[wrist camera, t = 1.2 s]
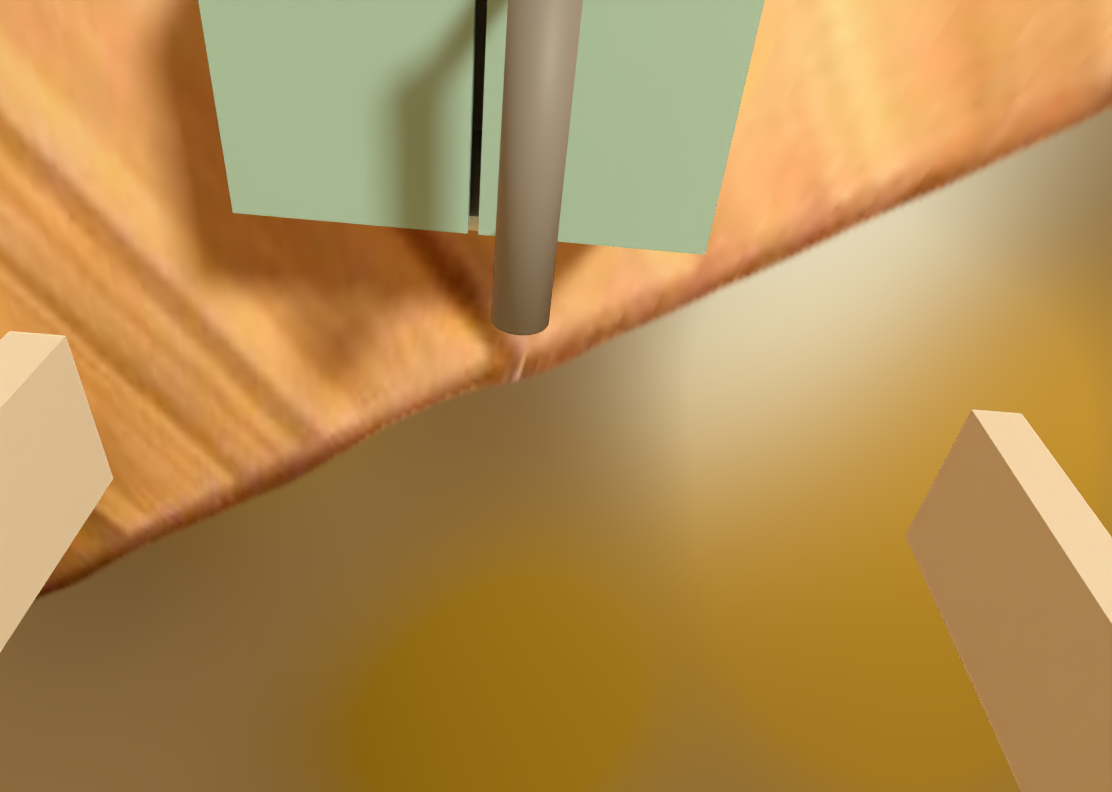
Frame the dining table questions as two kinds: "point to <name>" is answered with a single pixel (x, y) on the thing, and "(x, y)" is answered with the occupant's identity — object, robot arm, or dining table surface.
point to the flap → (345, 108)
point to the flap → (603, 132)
